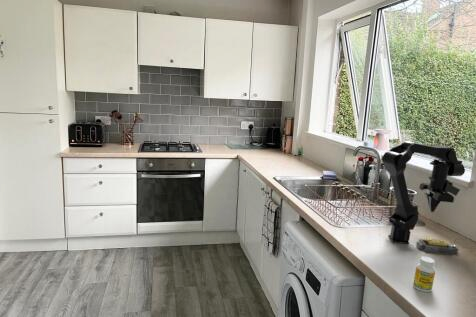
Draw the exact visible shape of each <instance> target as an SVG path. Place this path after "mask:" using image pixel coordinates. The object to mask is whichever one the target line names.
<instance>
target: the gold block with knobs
mask: <svg viewBox="0 0 476 317" xmlns="http://www.w3.org/2000/svg"><path fill="white" fill-rule="evenodd" d="M424 240H425V242H424V243H425V244H426V245H429V246H438V247H447V244H448V243H447V242H446V241H445V240H444V239H442V238H441V239H438V238H433V237H432V238H431V237H425V238H424Z"/></svg>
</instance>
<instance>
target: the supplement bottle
mask: <svg viewBox="0 0 476 317" xmlns="http://www.w3.org/2000/svg"><path fill="white" fill-rule="evenodd" d="M415 266H416V267H415V272H414V276H413V277H414V278H413V281H412V282H413V283H412V286H413V287H414V288H415V289H417V290H418V291H419V292H420V291H421V292H423V293H428V292H432V290H433V285H434V282H435V280H434V279H435V277H436V276H435V275H436V268H435V259H433V258H431V257H429V256H421V257H420V258H419V262H418V263H416V265H415Z"/></svg>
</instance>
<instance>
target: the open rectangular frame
mask: <svg viewBox="0 0 476 317" xmlns="http://www.w3.org/2000/svg"><path fill="white" fill-rule="evenodd" d="M424 242H425V239H421V238H420V239H418V241H416V244H415V247H416V248H417V249H418V250H421V251H422V250H423V252H425V253H433V254H442V255H449V256H450V255H451V256H452V255H453V254H456V255H458V252H459V248H458V247H457V246H458V245H455V244H448V243H447V247H438V246H429V245H426V244H425V243H424Z"/></svg>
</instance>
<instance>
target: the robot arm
mask: <svg viewBox="0 0 476 317" xmlns="http://www.w3.org/2000/svg"><path fill="white" fill-rule="evenodd" d="M414 154H421V155H426V156H430V157H431V158H434V159H433V160H432V161H430V162H429V165H432V171H431V176H430V175H429V176H428V179H429V183H426V182H422V183H420V184H419V187H418V188H419V189H420V190H421V191H424V190H426V192H424V195H425V197H426V201H427V204H428V208H429V211H430V212H431V213H434V212H435V210H436V209H437V207H438V206H439V204H440V203H441V202H442V203H443V202H444V203H454V201H455V197H457V196H458V194H459V192H460V190H461V189H460V188H458V187H456V186H455V185H454V183H453V182H451V181H450V180H448V177H462V176H464V174H465V172H466V169H465V166H464V164H463V160H459V159H458V157H457V154H456V151H455V148H453V147H450V146H444V145H441V144H436V145H426V144H422V143H421V144H420V143H416V142H414V141H413V142H412V141H409V140H405V141H403V142H402V143H401V144H398V145H397V146H394V147H392V148H390V149H389V150H387V151H386V152H384V154H383V156H382V157H381V163H382V164H383V167H384V168H385V170H386V171H387V172H388V173H389V175H390V179H391V182H392V187H393V191H394V195H395V199H396V206H395V208H394V213H393V214H391V215H390V217H389V218H388V220H389V223H390V224H391V228H390V233H389V235H388V237H389V239H390V240H391V241H392V242H393V243H397V244H398V243H399V244H407V245H408V244H410V242H409V241H410V237H411V233H412V232H411V231H412V230H414V228H415V227H416V225H417V222H418V221H419V215H420V213H419V209H418V206H417V205H415V204H413V203H411V198H410V195H409V190H408V187H407V181H406V177H405V170H406V168H407V163H408V162H409V161H411V159H412V156H413V155H414ZM454 196H455V197H454Z"/></svg>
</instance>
